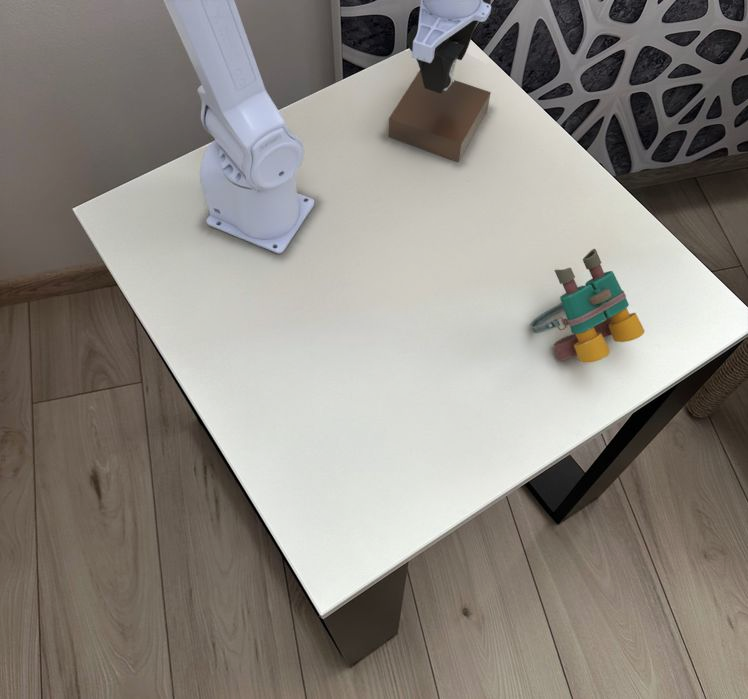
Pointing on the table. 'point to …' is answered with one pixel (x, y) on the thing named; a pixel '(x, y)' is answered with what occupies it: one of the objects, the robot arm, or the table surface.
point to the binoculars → (591, 314)
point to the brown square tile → (439, 117)
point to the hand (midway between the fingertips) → (443, 72)
